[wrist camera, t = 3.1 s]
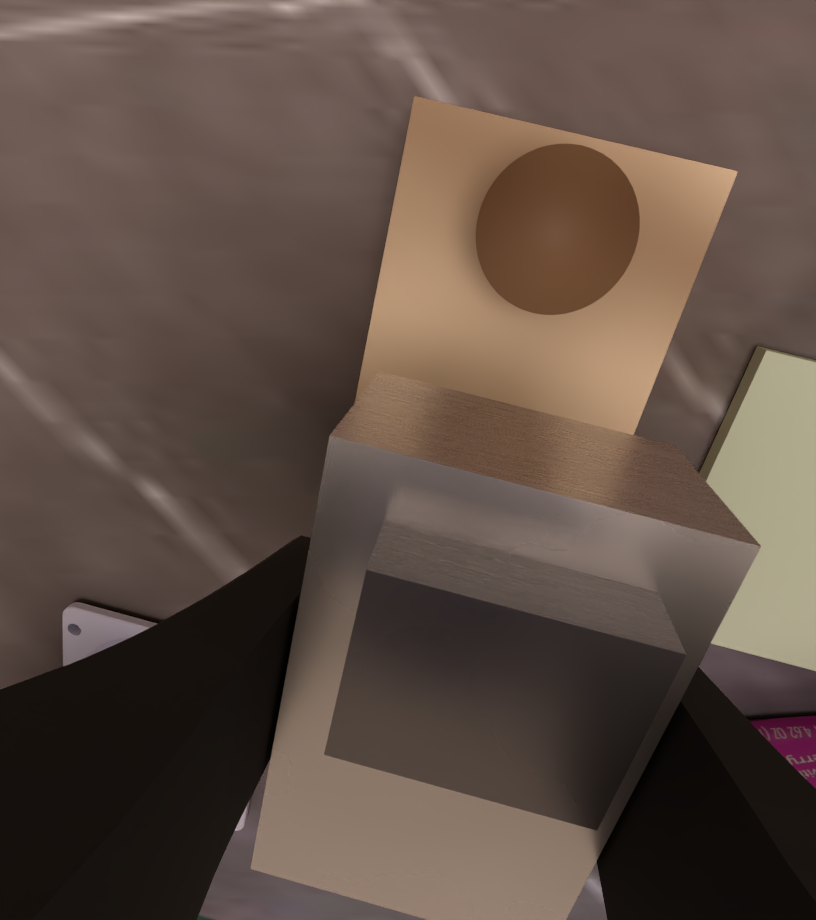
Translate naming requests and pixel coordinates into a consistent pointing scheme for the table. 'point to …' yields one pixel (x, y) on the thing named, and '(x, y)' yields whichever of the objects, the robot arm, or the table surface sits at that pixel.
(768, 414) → the felt mat
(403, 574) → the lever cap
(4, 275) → the table surface
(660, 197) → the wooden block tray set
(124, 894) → the robot arm
